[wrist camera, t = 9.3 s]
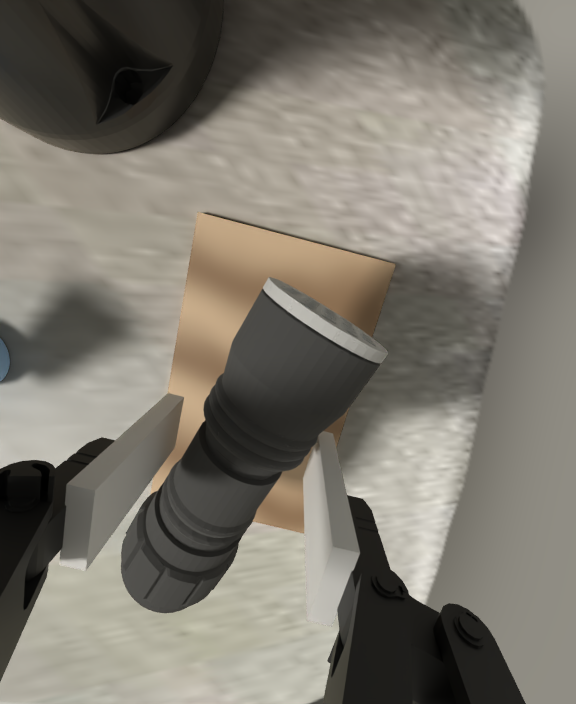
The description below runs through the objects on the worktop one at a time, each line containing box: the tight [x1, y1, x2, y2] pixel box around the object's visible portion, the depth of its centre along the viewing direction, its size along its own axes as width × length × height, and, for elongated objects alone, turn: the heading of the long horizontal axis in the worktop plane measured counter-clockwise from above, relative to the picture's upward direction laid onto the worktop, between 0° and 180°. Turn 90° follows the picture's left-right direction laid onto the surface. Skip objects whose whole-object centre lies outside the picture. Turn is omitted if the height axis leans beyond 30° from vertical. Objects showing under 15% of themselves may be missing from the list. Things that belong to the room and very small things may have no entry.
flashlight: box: [121, 277, 388, 613], centre depth 14 cm, size 15×5×5 cm, turn 149°
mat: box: [151, 212, 396, 534], centre depth 21 cm, size 20×12×1 cm, turn 166°
